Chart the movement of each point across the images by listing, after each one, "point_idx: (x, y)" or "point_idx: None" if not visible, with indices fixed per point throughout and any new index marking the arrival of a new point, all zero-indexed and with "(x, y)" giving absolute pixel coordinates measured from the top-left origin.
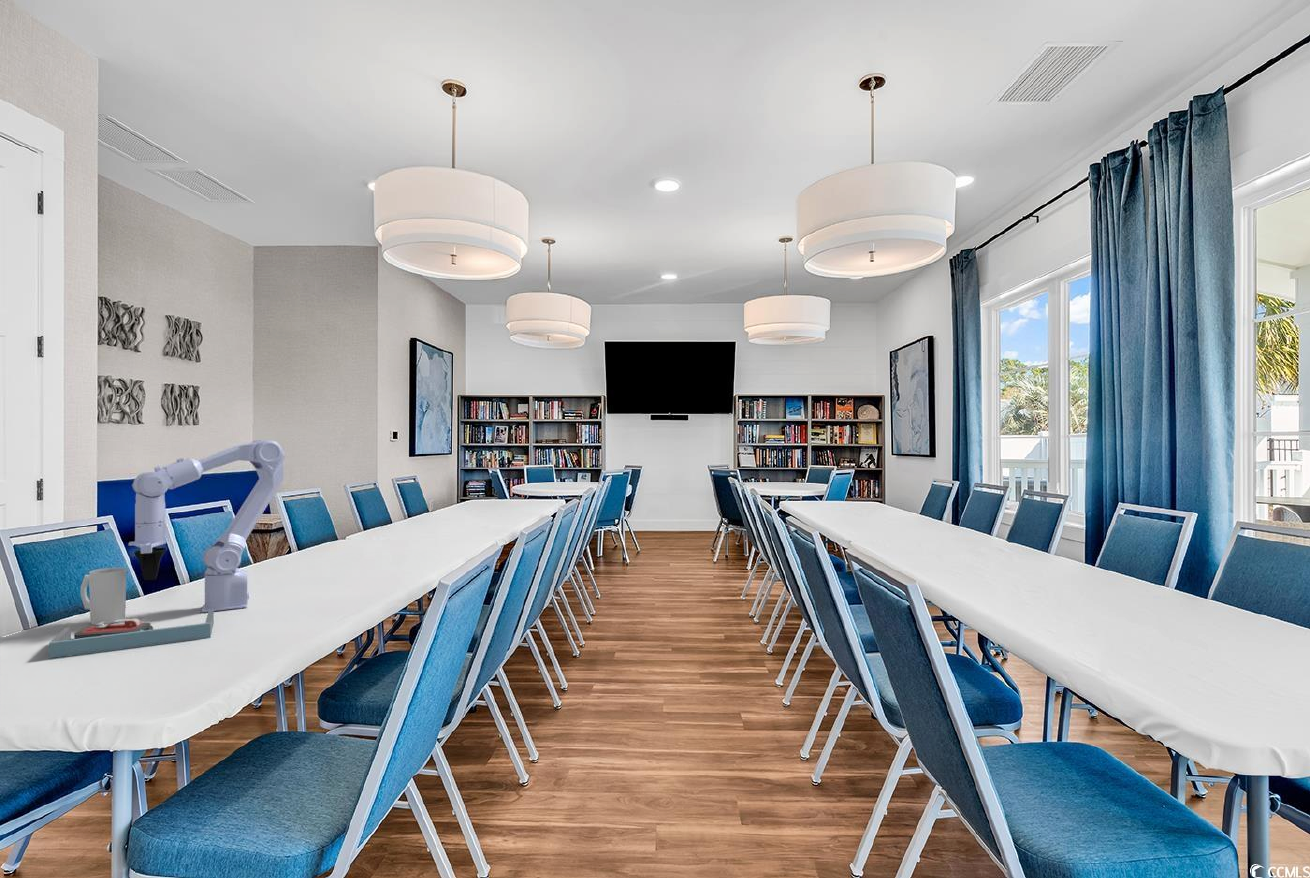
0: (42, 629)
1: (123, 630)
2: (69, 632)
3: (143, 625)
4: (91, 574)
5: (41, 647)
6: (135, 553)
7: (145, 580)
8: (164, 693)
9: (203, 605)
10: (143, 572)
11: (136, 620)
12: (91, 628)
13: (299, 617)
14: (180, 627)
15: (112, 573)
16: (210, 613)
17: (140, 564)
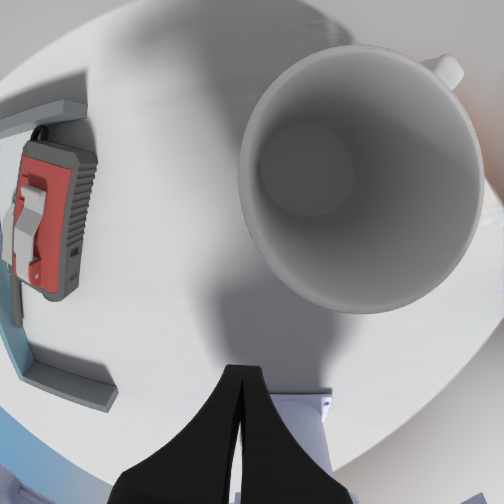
0: (303, 15)
1: (13, 248)
2: (55, 117)
3: (34, 287)
4: (306, 61)
5: (72, 71)
6: (114, 492)
7: (226, 366)
8: None
9: (314, 397)
10: (213, 395)
11: (24, 279)
12: (39, 171)
13: (121, 462)
14: (3, 341)
15: (248, 221)
16: (84, 403)
17: (184, 430)
